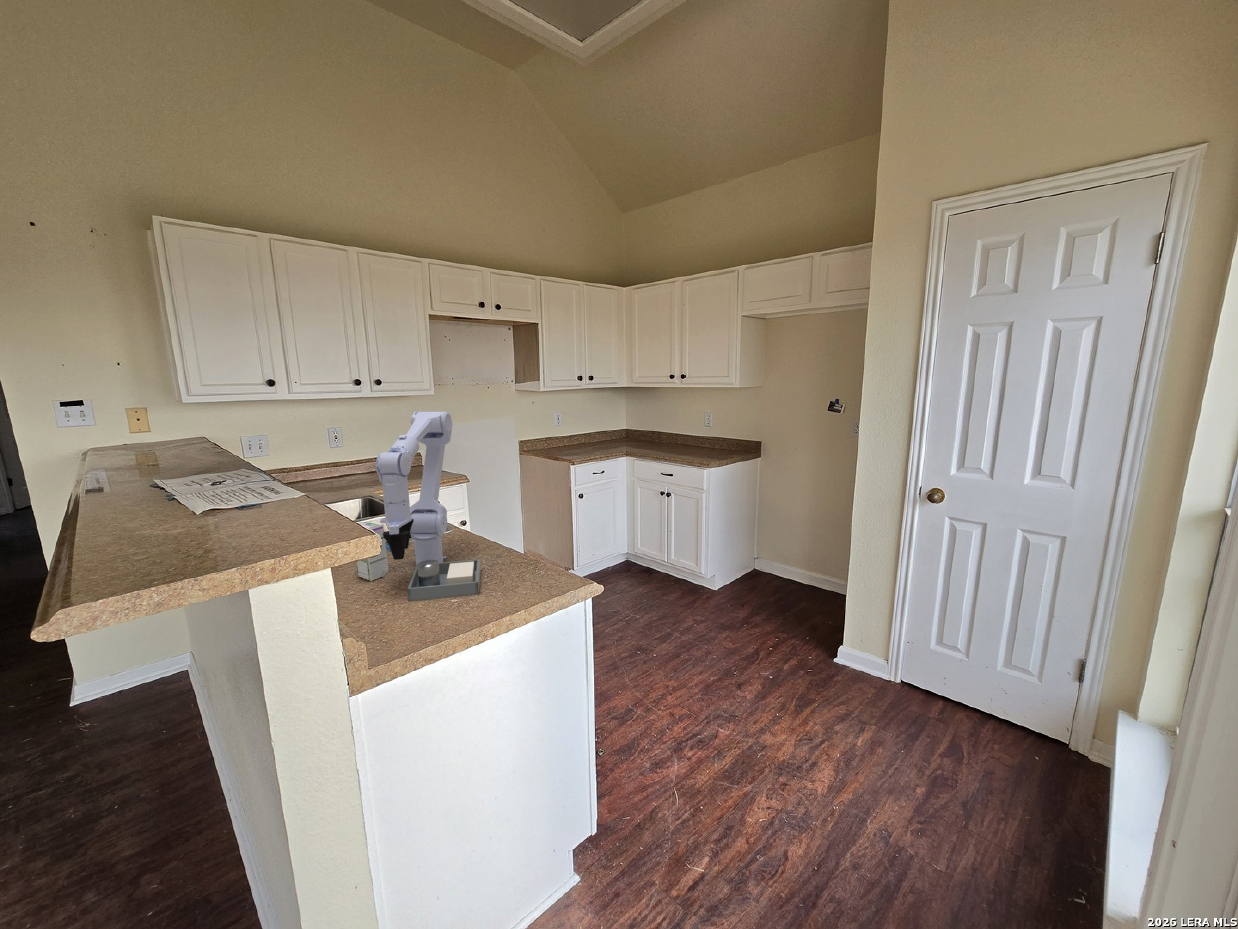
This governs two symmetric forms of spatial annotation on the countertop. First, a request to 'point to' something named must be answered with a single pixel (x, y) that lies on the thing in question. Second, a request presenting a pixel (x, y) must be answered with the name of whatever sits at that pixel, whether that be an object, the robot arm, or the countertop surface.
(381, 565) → the syrup box
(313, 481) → the countertop surface
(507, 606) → the countertop surface
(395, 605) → the countertop surface
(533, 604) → the countertop surface
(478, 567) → the tote
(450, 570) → the block
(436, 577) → the metal can
